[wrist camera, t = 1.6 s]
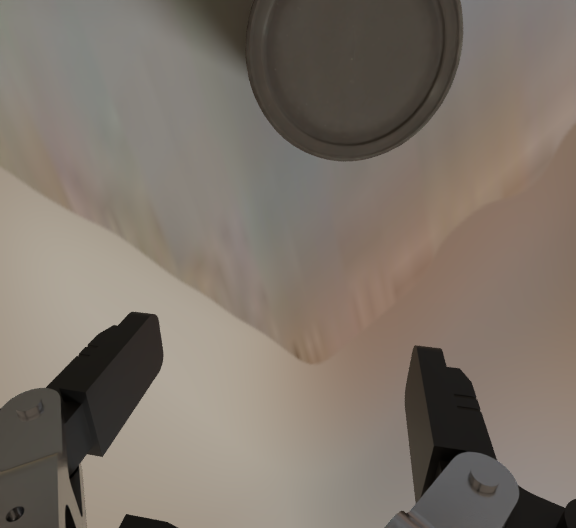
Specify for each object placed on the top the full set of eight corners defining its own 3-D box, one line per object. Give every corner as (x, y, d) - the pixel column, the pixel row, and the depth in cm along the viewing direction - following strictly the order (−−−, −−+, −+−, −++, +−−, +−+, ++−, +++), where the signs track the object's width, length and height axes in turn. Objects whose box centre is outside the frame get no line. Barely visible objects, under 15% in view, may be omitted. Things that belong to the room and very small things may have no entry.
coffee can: (404, 87, 33) (478, 121, 21) (285, 133, 35) (289, 188, 23) (373, -64, 29) (445, -134, 16) (236, -3, 30) (208, -25, 18)
